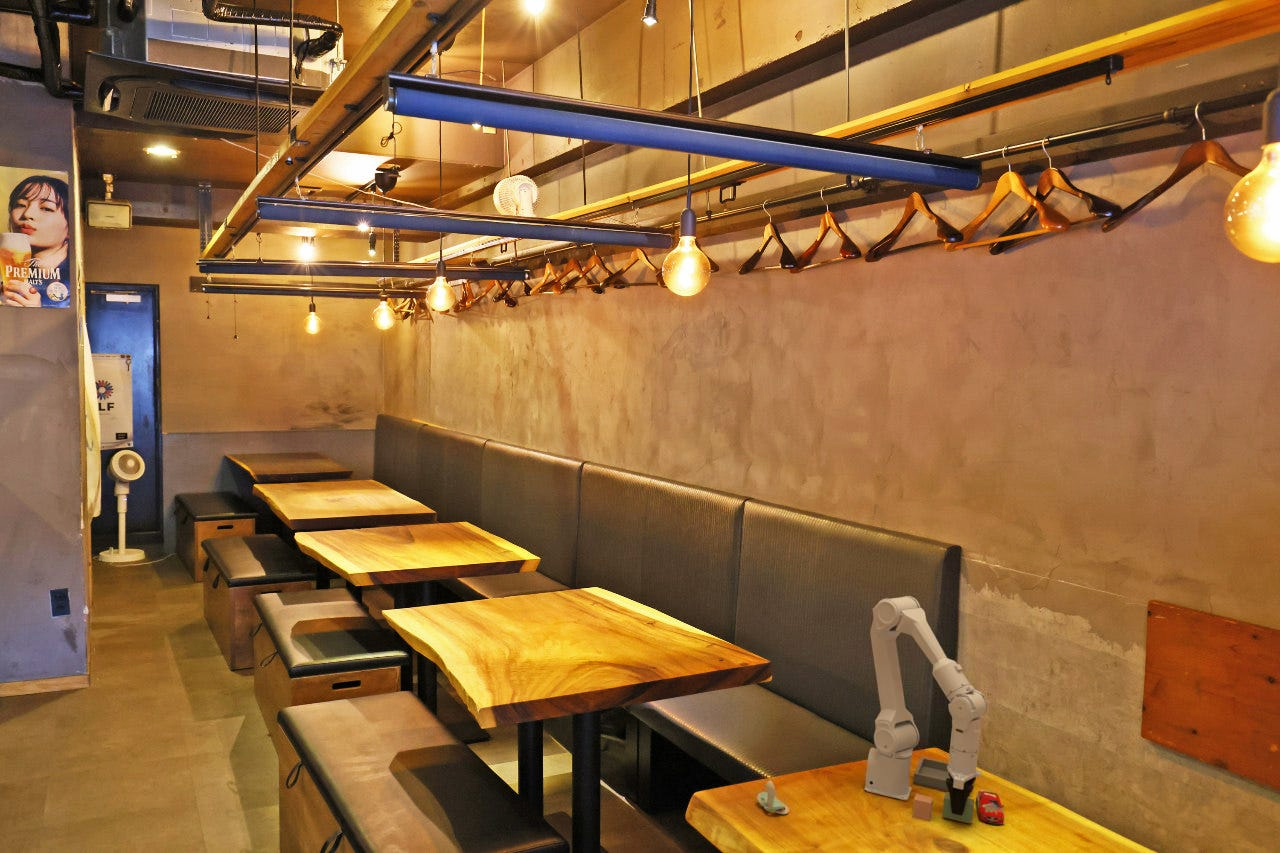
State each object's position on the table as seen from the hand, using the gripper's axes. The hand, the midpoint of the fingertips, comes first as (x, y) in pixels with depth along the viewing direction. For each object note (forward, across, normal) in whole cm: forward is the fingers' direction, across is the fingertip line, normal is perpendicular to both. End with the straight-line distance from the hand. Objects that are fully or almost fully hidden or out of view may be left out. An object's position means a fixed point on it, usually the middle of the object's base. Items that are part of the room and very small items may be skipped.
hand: (957, 810), depth 205 cm
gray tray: (+2, +21, +5) cm, 22 cm away
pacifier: (+2, -18, +36) cm, 40 cm away
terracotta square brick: (+2, -3, +7) cm, 8 cm away
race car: (+2, +8, -6) cm, 10 cm away
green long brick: (+1, 0, 0) cm, 1 cm away
